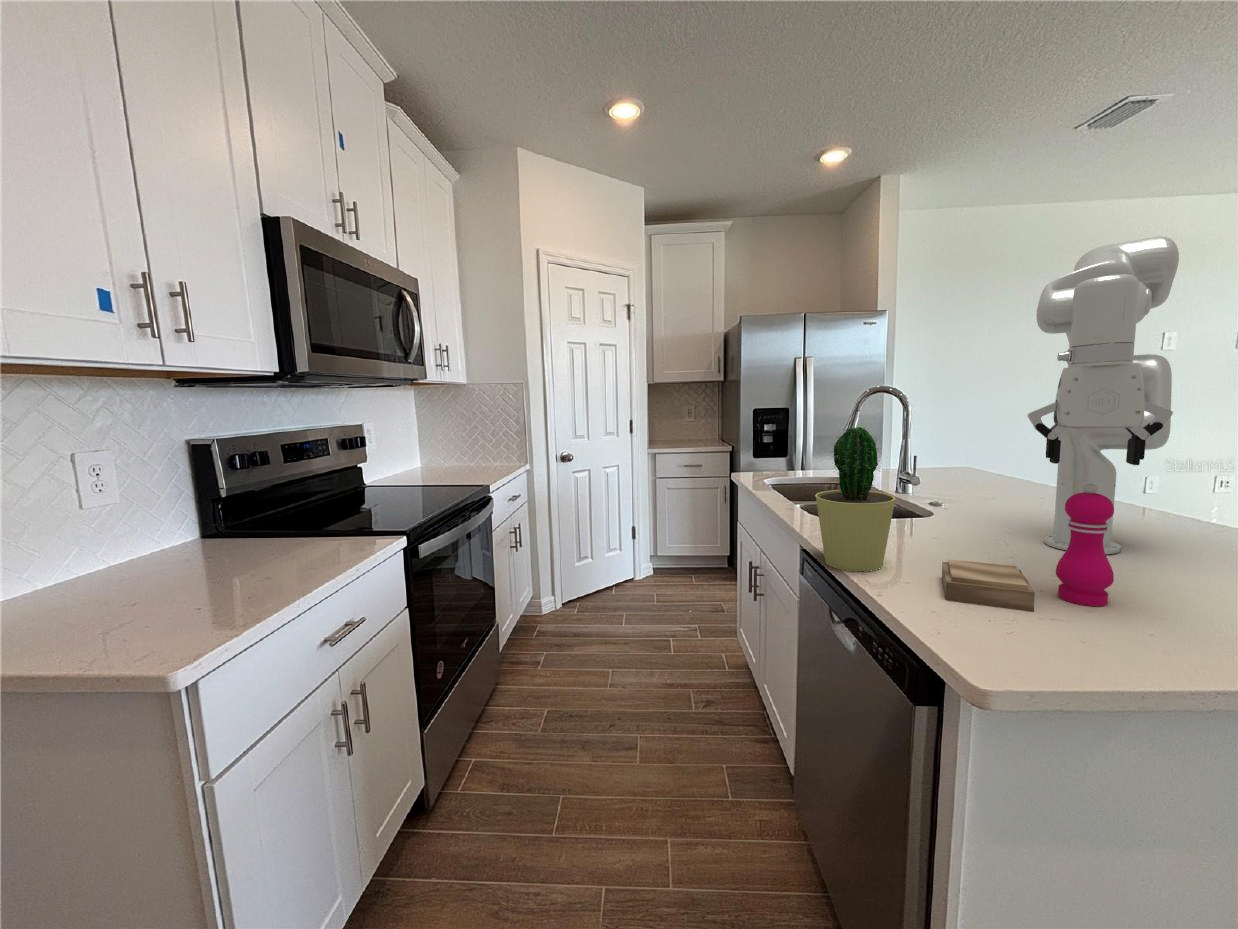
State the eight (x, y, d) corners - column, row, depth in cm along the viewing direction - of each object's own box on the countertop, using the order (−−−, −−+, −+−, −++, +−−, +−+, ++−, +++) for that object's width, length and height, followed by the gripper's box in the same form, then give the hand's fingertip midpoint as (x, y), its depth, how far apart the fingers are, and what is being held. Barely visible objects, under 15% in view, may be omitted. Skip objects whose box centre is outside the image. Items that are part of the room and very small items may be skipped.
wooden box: (941, 577, 98) (942, 557, 97) (1019, 586, 92) (1020, 565, 92) (946, 599, 88) (946, 577, 87) (1033, 611, 82) (1035, 587, 81)
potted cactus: (853, 548, 118) (855, 421, 114) (911, 568, 104) (915, 423, 100) (799, 558, 113) (799, 425, 109) (852, 580, 99) (855, 427, 95)
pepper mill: (1100, 611, 81) (1109, 489, 78) (1045, 597, 87) (1053, 483, 85) (1119, 601, 84) (1129, 483, 81) (1065, 588, 90) (1073, 478, 88)
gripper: (1036, 359, 81) (1030, 464, 83) (1188, 350, 73) (1177, 467, 75) (1026, 362, 88) (1021, 459, 90) (1165, 354, 79) (1156, 462, 81)
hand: (1092, 463), depth 82 cm, fingers open, 9 cm apart
